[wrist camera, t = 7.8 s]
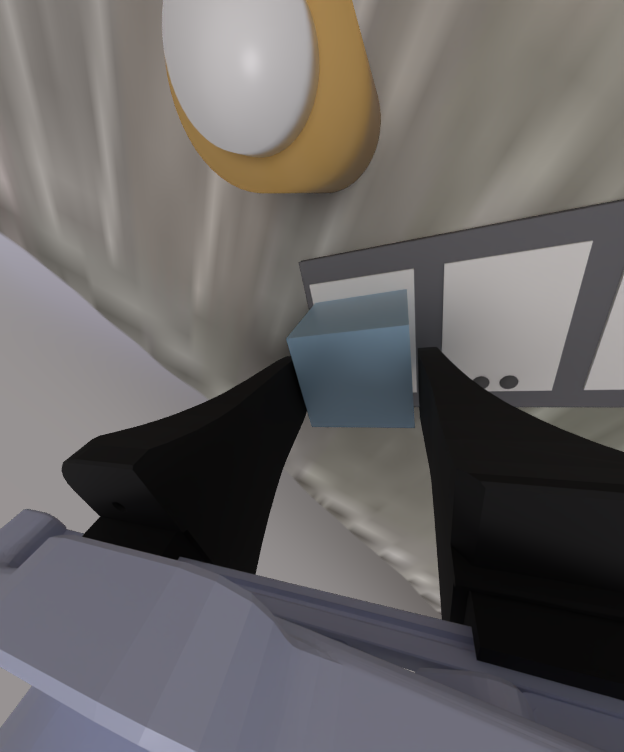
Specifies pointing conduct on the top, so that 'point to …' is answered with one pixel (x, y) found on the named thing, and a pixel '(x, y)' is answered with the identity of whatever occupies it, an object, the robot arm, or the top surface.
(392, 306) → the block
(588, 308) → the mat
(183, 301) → the top surface
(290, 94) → the bottle
